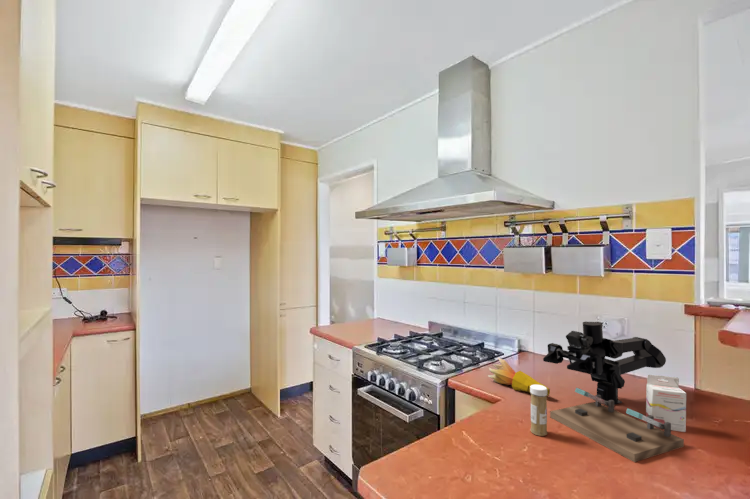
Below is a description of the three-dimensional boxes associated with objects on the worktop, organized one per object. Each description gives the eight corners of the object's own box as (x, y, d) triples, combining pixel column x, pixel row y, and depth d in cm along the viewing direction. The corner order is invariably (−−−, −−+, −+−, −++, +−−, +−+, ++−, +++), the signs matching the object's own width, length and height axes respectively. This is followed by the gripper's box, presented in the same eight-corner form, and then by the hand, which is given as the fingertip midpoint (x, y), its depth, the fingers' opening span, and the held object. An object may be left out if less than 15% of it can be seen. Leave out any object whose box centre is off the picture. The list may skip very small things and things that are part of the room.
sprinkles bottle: (548, 437, 102) (548, 390, 102) (531, 435, 104) (531, 388, 104) (545, 430, 107) (546, 384, 107) (529, 427, 108) (529, 383, 108)
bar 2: (653, 425, 103) (654, 420, 104) (665, 430, 100) (667, 425, 101) (625, 413, 99) (627, 408, 99) (638, 418, 96) (639, 412, 96)
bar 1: (600, 403, 118) (602, 399, 119) (610, 407, 115) (611, 403, 116) (574, 391, 114) (576, 387, 114) (583, 395, 111) (585, 391, 111)
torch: (545, 411, 128) (488, 381, 148) (557, 396, 131) (499, 369, 152) (541, 394, 125) (483, 366, 145) (554, 380, 128) (495, 354, 149)
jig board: (594, 407, 122) (594, 391, 122) (683, 446, 98) (683, 426, 98) (550, 417, 115) (550, 400, 115) (634, 462, 91) (634, 440, 91)
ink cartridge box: (651, 428, 108) (651, 379, 108) (645, 420, 113) (645, 373, 113) (686, 432, 105) (686, 382, 105) (678, 425, 110) (678, 376, 110)
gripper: (562, 325, 132) (530, 333, 126) (613, 335, 115) (578, 345, 109) (565, 355, 132) (533, 365, 126) (616, 370, 115) (581, 381, 109)
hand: (555, 363), depth 118 cm, fingers open, 9 cm apart
